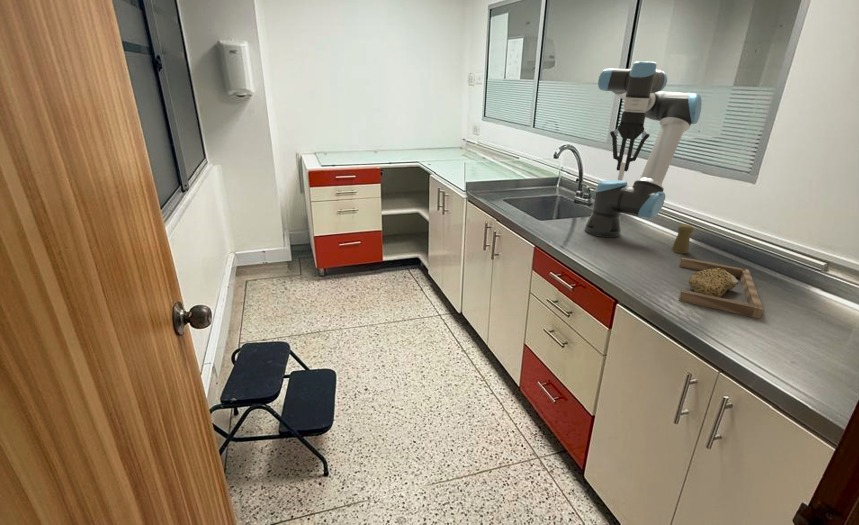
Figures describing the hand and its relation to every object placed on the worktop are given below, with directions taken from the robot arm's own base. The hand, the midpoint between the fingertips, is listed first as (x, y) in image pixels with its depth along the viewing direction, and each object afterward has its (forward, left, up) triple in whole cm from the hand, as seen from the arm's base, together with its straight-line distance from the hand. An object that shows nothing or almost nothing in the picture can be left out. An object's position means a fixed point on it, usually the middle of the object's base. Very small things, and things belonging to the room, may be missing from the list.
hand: (620, 179), depth 159 cm
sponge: (+16, +35, -30) cm, 48 cm away
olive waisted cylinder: (-23, +26, -30) cm, 46 cm away
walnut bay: (+11, +36, -29) cm, 48 cm away
